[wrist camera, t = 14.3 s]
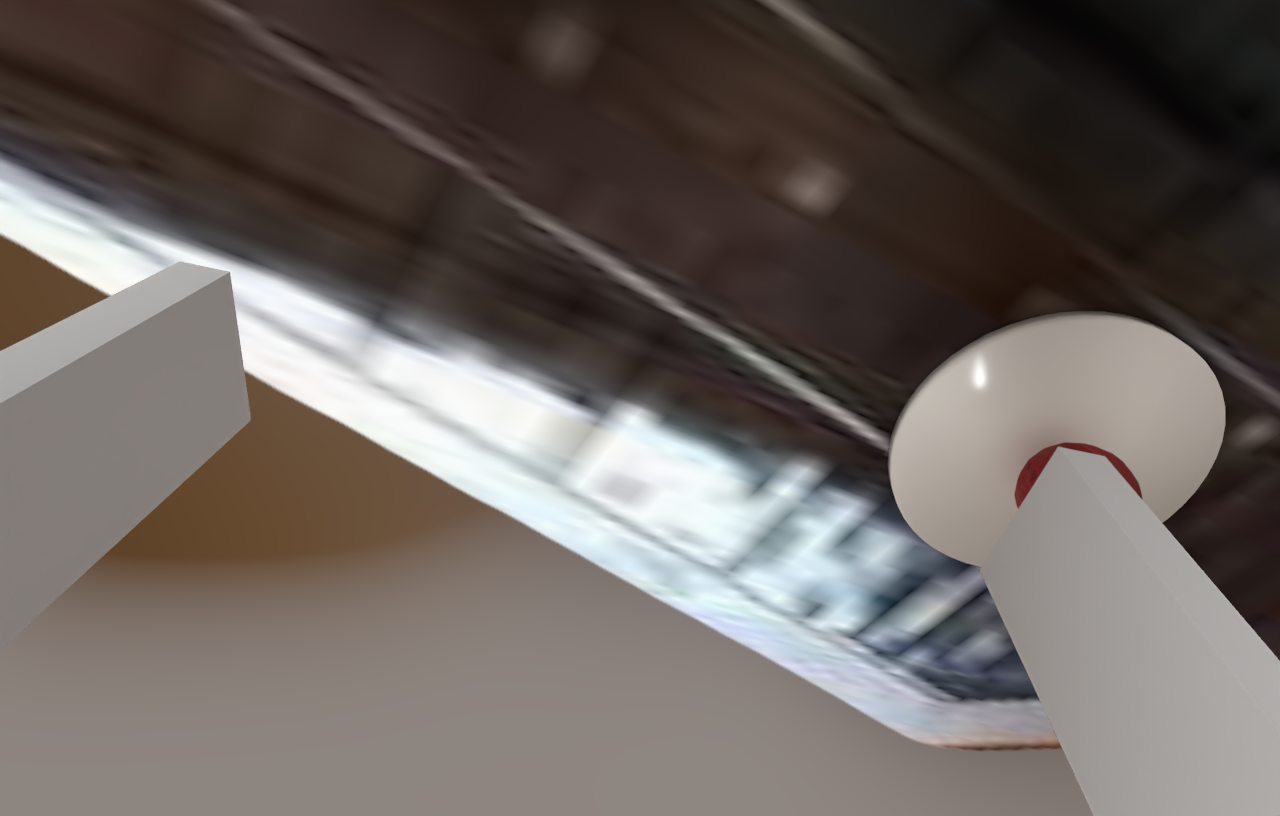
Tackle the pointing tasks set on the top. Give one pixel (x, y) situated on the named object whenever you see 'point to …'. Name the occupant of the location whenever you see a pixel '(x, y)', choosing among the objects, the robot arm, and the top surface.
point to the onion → (1042, 458)
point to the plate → (1050, 421)
